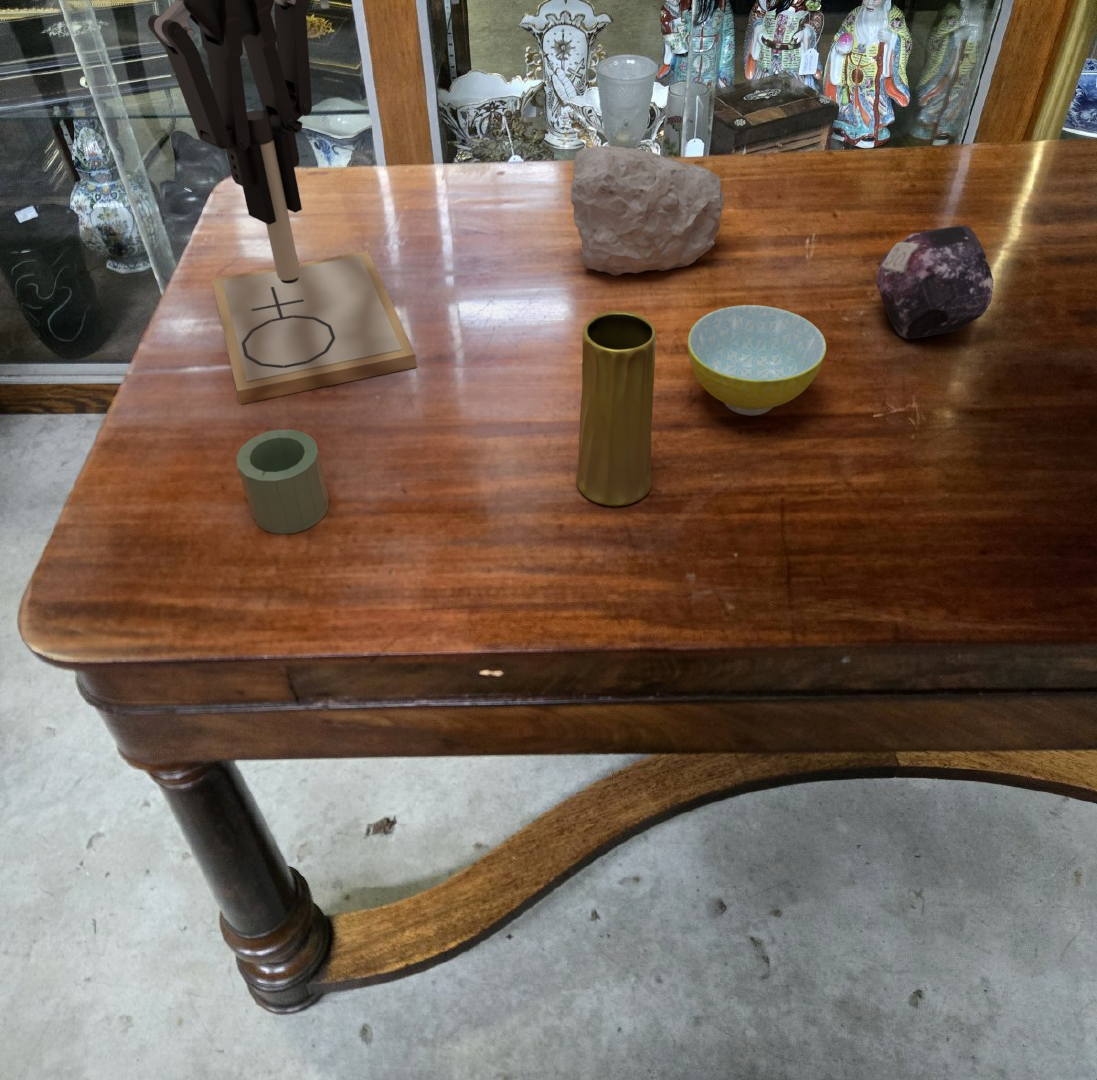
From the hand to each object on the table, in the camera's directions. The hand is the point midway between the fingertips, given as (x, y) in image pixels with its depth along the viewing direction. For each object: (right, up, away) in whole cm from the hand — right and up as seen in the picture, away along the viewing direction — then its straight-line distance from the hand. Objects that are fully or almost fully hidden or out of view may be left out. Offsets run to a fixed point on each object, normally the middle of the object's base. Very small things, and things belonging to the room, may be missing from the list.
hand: (275, 211), depth 88 cm
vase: (+28, -23, -5) cm, 37 cm away
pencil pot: (+3, -25, -6) cm, 26 cm away
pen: (0, -5, +4) cm, 6 cm away
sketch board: (0, -7, +12) cm, 14 cm away
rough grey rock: (+33, +1, +20) cm, 39 cm away
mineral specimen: (+59, -7, +11) cm, 60 cm away
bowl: (+41, -16, +3) cm, 44 cm away
